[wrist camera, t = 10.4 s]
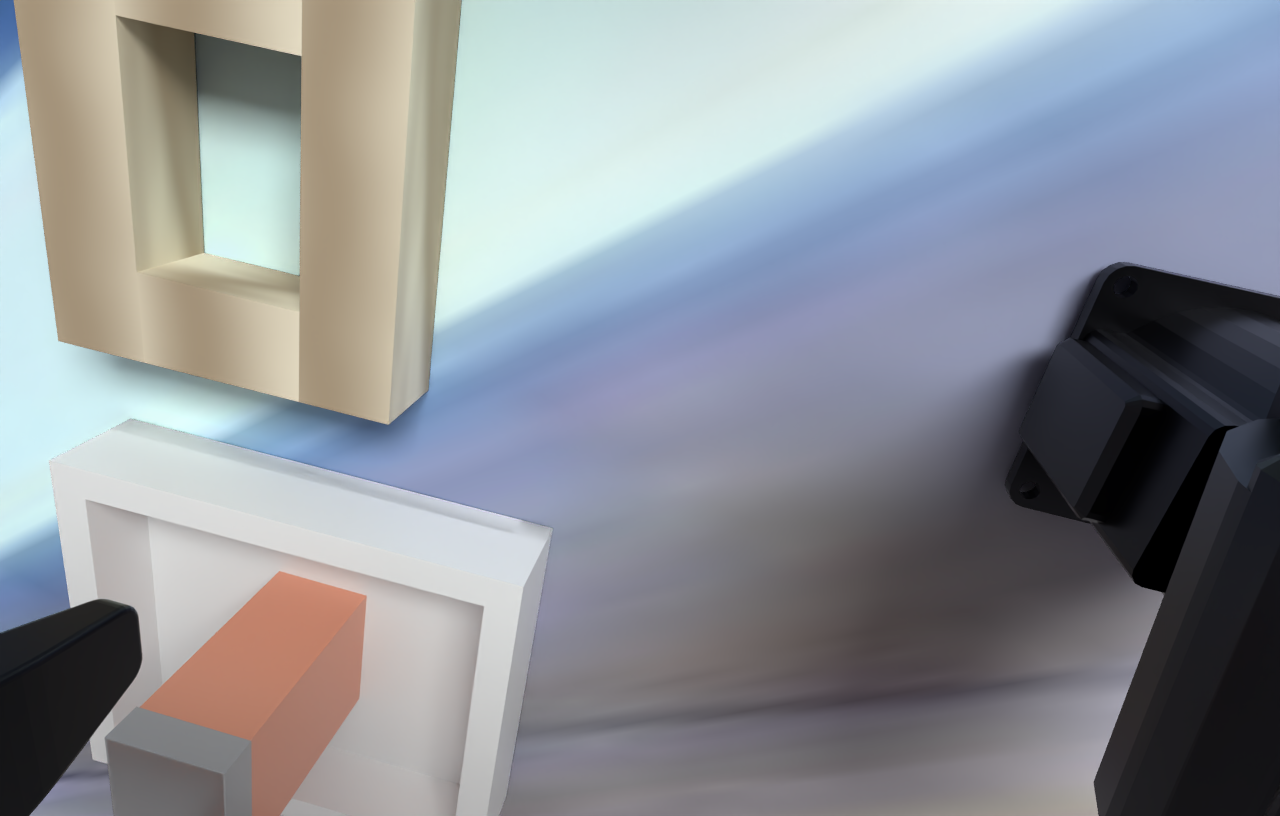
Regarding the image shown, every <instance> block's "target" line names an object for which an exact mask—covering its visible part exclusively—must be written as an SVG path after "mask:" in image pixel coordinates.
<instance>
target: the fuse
mask: <svg viewBox="0 0 1280 816" xmlns="http://www.w3.org/2000/svg"><path fill="white" fill-rule="evenodd" d="M366 600H367V596H366V595H363V594H359V593H355V592H352V591H348V590H345V589H341V588H338V587H334V586H331V585H327V584H324V583H320V582H317V581H313V580H310V579H306V578H302V577H299V576H295V575H292V574H288V573H285V572H281V571H279V572H278V573H277V574H276V575H275V576H274V577H273V578H272V579H271V580H270V581H269V582H268V583H267V584H266V585H265V586H263V587H262V588H261V589H260V590H259V591H258V592H257V593H256V594H255V595H254V596H253V597H252V598H251V599H250V600H249V601H248V602H247V603H246V604H245V605H244V606H243V607H242V608H241V609H240V610H239V611H238V612H237V613H236V614H235V615H234V616H233V617H232V618H231V619H230V620H229V621H228V622H227V623H226V624H225V625H223V626H222V627H221V628H220V629H219V630H218V631H217V632H216V633H215V634H214V635H213V636H212V637H211V638H210V639H209V640H208V641H207V642H206V643H205V644H204V645H203V646H202V647H201V648H200V649H199V650H198V651H197V652H196V653H195V654H194V655H193V656H192V657H191V658H190V659H189V660H188V661H187V662H186V663H185V664H183V665H182V666H181V667H180V668H179V669H178V670H177V671H176V672H175V673H174V674H173V675H172V676H171V677H170V678H169V679H168V680H167V681H166V682H165V683H164V684H163V685H162V686H161V687H160V688H159V689H158V690H157V691H156V692H155V693H154V694H153V695H152V696H151V697H150V698H149V699H148V700H147V701H146V702H144V703H143V704H142V705H141V706H140V707H135V708H134V709H133V710H132V711H131V712H130V713H129V714H128V715H127V716H126V717H125V718H124V719H123V720H122V721H121V722H120V723H119V724H118V725H117V726H116V727H115V728H114V729H113V730H112V731H111V732H110V733H109V734H107V735H106V736H105V737H104V738H105V746H106V755H107V763H108V772H109V780H110V788H111V797H112V805H113V814H114V816H280V814H281V813H282V812H283V810H284V809H285V807H286V806H287V804H288V803H289V801H290V800H291V798H292V797H293V795H294V794H295V792H296V791H297V789H298V788H299V786H300V785H301V784H302V782H303V781H304V779H305V778H306V776H307V775H308V773H309V772H310V770H311V769H312V767H313V766H314V764H315V763H316V761H317V760H318V759H319V757H320V756H321V754H322V753H323V751H324V750H325V748H326V747H327V745H328V744H329V742H330V741H331V739H332V738H333V736H334V735H335V734H336V732H337V731H338V729H339V728H340V726H341V725H342V723H343V722H344V720H345V719H346V717H347V716H348V714H349V713H350V711H351V710H352V708H353V707H354V706H355V704H356V703H357V701H358V700H359V696H360V683H361V669H362V655H363V641H364V627H365V613H366Z"/></svg>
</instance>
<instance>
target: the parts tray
mask: <svg viewBox="0 0 1280 816" xmlns="http://www.w3.org/2000/svg"><path fill="white" fill-rule="evenodd" d="M49 465H50V472H51V479H52V485H53V492H54V499H55V506H56V513H57V519H58V526H59V533H60V540H61V547H62V553H63V560H64V567H65V574H66V581H67V588H68V594H69V601H70V608H72V607H75V606H78V605H81V604H83V603H86V602H89V601H92V600H96V599H108V600H112V601H116V602H119V603H123V604H127V605H130V606H132V607H134V608H135V610H136V611H137V613H138V616H139V625H140V635H141V645H142V664H141V667H140V670H139V672H138V674H137V676H136V678H135V679H134V681H133V682H132V684H131V685H130V686H129V688H128V689H127V690H126V692H125V693H124V694H123V696H122V697H121V698H120V699H119V701H118V702H117V703H116V705H115V706H114V707H113V709H112V710H111V711H110V713H109V714H108V715H107V717H106V718H105V719H104V721H103V722H102V723H101V725H100V726H99V727H98V729H97V730H96V731H95V733H94V734H93V735H92V737H91V738H90V744H91V751H92V758H93V760H96V761H99V762H103V763H106V764H108V763H107V755H106V746H105V738H104V737H105V736H106V735H107V734H109V733H110V732H111V731H112V730H113V729H114V728H115V727H116V726H117V725H118V724H119V723H120V722H121V721H122V720H123V719H124V718H125V717H126V716H127V715H128V714H129V713H130V712H131V711H132V710H133V709H134V708H135V707H140V706H141V705H142V704H143V703H144V702H146V701H147V700H148V699H149V698H150V697H151V696H152V695H153V694H154V693H155V692H156V691H157V690H158V689H159V688H160V687H161V686H162V685H163V684H164V683H165V682H166V681H167V680H168V679H169V678H170V677H171V676H172V675H173V674H174V673H175V672H176V671H177V670H178V669H179V668H180V667H181V666H182V665H183V664H185V663H186V662H187V661H188V660H189V659H190V658H191V657H192V656H193V655H194V654H195V653H196V652H197V651H198V650H199V649H200V648H201V647H202V646H203V645H204V644H205V643H206V642H207V641H208V640H209V639H210V638H211V637H212V636H213V635H214V634H215V633H216V632H217V631H218V630H219V629H220V628H221V627H222V626H223V625H225V624H226V623H227V622H228V621H229V620H230V619H231V618H232V617H233V616H234V615H235V614H236V613H237V612H238V611H239V610H240V609H241V608H242V607H243V606H244V605H245V604H246V603H247V602H248V601H249V600H250V599H251V598H252V597H253V596H254V595H255V594H256V593H257V592H258V591H259V590H260V589H261V588H262V587H263V586H265V585H266V584H267V583H268V582H269V581H270V580H271V579H272V578H273V577H274V576H275V575H276V574H277V573H278V572H279V571H281V572H285V573H288V574H292V575H295V576H299V577H302V578H306V579H310V580H313V581H317V582H320V583H324V584H327V585H331V586H334V587H338V588H341V589H345V590H348V591H352V592H355V593H359V594H363V595H366V596H367V600H366V613H365V627H364V641H363V655H362V669H361V683H360V696H359V700H358V701H357V703H356V704H355V706H354V707H353V708H352V710H351V711H350V713H349V714H348V716H347V717H346V719H345V720H344V722H343V723H342V725H341V726H340V728H339V729H338V731H337V732H336V734H335V735H334V736H333V738H332V739H331V741H330V742H329V744H328V745H327V747H326V748H325V750H324V751H323V753H322V754H321V756H320V757H319V759H318V760H317V761H316V763H315V764H314V766H313V767H312V769H311V770H310V772H309V773H308V775H307V776H306V778H305V779H304V781H303V782H302V784H301V785H300V786H299V788H298V789H297V791H296V792H295V794H294V795H293V797H292V798H291V800H290V801H289V803H288V804H287V806H286V807H285V809H284V810H283V812H282V813H281V814H280V815H283V816H499V815H500V812H501V809H502V807H503V804H504V801H505V799H506V795H507V789H508V784H509V778H510V772H511V766H512V761H513V755H514V749H515V743H516V738H517V732H518V726H519V720H520V715H521V709H522V703H523V697H524V692H525V686H526V680H527V674H528V668H529V663H530V657H531V651H532V645H533V640H534V634H535V628H536V622H537V617H538V611H539V605H540V599H541V594H542V588H543V582H544V576H545V571H546V565H547V559H548V553H549V548H550V542H551V536H552V530H553V528H550V527H546V526H542V525H538V524H534V523H530V522H527V521H523V520H519V519H515V518H511V517H507V516H504V515H500V514H496V513H492V512H488V511H484V510H480V509H477V508H473V507H469V506H465V505H461V504H457V503H454V502H450V501H446V500H442V499H438V498H434V497H430V496H427V495H423V494H419V493H415V492H411V491H407V490H403V489H400V488H396V487H392V486H388V485H384V484H380V483H376V482H373V481H369V480H365V479H361V478H357V477H353V476H350V475H346V474H342V473H338V472H334V471H330V470H326V469H323V468H319V467H315V466H311V465H307V464H303V463H299V462H296V461H292V460H288V459H284V458H280V457H276V456H273V455H269V454H265V453H261V452H257V451H253V450H249V449H246V448H242V447H238V446H234V445H230V444H226V443H222V442H219V441H215V440H211V439H207V438H203V437H199V436H196V435H192V434H188V433H184V432H180V431H176V430H172V429H169V428H165V427H161V426H157V425H153V424H149V423H145V422H142V421H138V420H134V419H129V420H127V421H125V422H123V423H121V424H119V425H117V426H115V427H113V428H111V429H109V430H108V431H106V432H104V433H102V434H100V435H98V436H96V437H94V438H92V439H90V440H88V441H86V442H84V443H82V444H80V445H78V446H76V447H74V448H72V449H70V450H68V451H66V452H65V453H63V454H61V455H59V456H57V457H55V458H53V459H51V460H49Z"/></svg>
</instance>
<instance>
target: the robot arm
mask: <svg viewBox="0 0 1280 816" xmlns="http://www.w3.org/2000/svg"><path fill="white" fill-rule="evenodd" d="M1126 276H1129V277H1130V279H1131V282H1130V286H1129V287H1128V289H1127V290H1126V291H1124V292H1122V293H1120V294H1115V293H1114V291H1113V290H1114V285H1115V283H1116V282H1117V281H1118V280H1119V279H1121V278H1123V277H1126ZM1019 434H1020V436H1021V438H1022V439H1023V443H1022V445H1021V447H1020V450H1019V452H1018V454H1017V456H1016V458H1015V461H1014V463H1013V465H1012V467H1011V469H1010V472H1009V474H1008V476H1007V478H1006V483H1005V487H1006V491H1007V493H1008V494H1009V496H1010V498H1011V499H1012V500H1013V501H1014V503H1015V504H1017V505H1019V506H1022V507H1025V508H1029V509H1033V510H1037V511H1041V512H1045V513H1050V514H1054V515H1058V516H1062V517H1066V518H1070V519H1074V520H1078V521H1082V522H1086V523H1090V524H1092V526H1093V527H1094V528H1095V530H1096V531H1097V532H1098V534H1099V535H1100V536H1101V538H1102V539H1103V541H1104V542H1105V543H1106V545H1107V546H1108V547H1109V549H1110V550H1111V551H1112V553H1113V554H1114V555H1115V557H1116V558H1117V560H1118V561H1119V562H1120V564H1121V565H1122V566H1123V568H1124V569H1125V570H1126V572H1127V573H1128V575H1129V576H1130V577H1131V579H1132V580H1133V581H1134V583H1135V584H1137V585H1139V586H1141V587H1144V588H1148V589H1152V590H1156V591H1160V592H1162V593H1163V595H1164V598H1163V600H1162V603H1161V606H1160V608H1159V611H1158V613H1157V616H1156V619H1155V621H1154V624H1153V627H1152V629H1151V632H1150V635H1149V637H1148V640H1147V642H1146V645H1145V648H1144V650H1143V653H1142V656H1141V658H1140V661H1139V664H1138V666H1137V669H1136V672H1135V674H1134V677H1133V679H1132V682H1131V685H1130V687H1129V690H1128V693H1127V695H1126V698H1125V701H1124V703H1123V706H1122V708H1121V711H1120V714H1119V716H1118V719H1117V722H1116V724H1115V727H1114V730H1113V732H1112V735H1111V738H1110V740H1109V743H1108V745H1107V748H1106V751H1105V753H1104V756H1103V759H1102V761H1101V764H1100V767H1099V769H1098V772H1097V774H1096V777H1095V780H1094V788H1095V795H1096V801H1097V808H1098V815H1099V816H1280V296H1277V295H1272V294H1268V293H1263V292H1259V291H1254V290H1250V289H1245V288H1241V287H1236V286H1232V285H1227V284H1223V283H1218V282H1214V281H1209V280H1205V279H1200V278H1196V277H1191V276H1187V275H1182V274H1178V273H1173V272H1169V271H1164V270H1160V269H1155V268H1151V267H1146V266H1142V265H1137V264H1133V263H1127V262H1118V263H1115V264H1112V265H1110V266H1108V267H1107V268H1106V269H1104V270H1103V271H1102V272H1101V274H1100V275H1099V276H1098V278H1097V280H1096V282H1095V284H1094V286H1093V289H1092V291H1091V293H1090V295H1089V297H1088V300H1087V302H1086V304H1085V306H1084V308H1083V311H1082V313H1081V315H1080V317H1079V319H1078V322H1077V324H1076V326H1075V328H1074V330H1073V333H1072V335H1071V337H1070V338H1068V339H1066V340H1064V341H1063V342H1061V343H1059V344H1058V345H1057V347H1056V349H1055V351H1054V353H1053V355H1052V358H1051V360H1050V362H1049V364H1048V367H1047V369H1046V371H1045V373H1044V376H1043V378H1042V380H1041V382H1040V385H1039V387H1038V389H1037V391H1036V393H1035V396H1034V398H1033V400H1032V402H1031V405H1030V407H1029V409H1028V411H1027V414H1026V416H1025V418H1024V420H1023V423H1022V425H1021V427H1020V430H1019ZM1027 482H1035V483H1036V484H1035V487H1034V488H1033V489H1032V490H1030V491H1027V492H1021V491H1020V487H1021V486H1022V485H1023V484H1025V483H1027ZM141 664H142V645H141V635H140V625H139V616H138V613H137V611H136V610H135V608H134V607H132V606H130V605H127V604H123V603H119V602H116V601H112V600H108V599H96V600H92V601H89V602H86V603H83V604H81V605H78V606H75V607H72V608H69V609H66V610H64V611H61V612H58V613H55V614H52V615H49V616H47V617H44V618H41V619H38V620H35V621H32V622H30V623H27V624H24V625H21V626H18V627H15V628H12V629H10V630H7V631H4V632H1V633H0V816H29V815H30V814H31V813H32V812H33V811H34V810H35V808H36V807H37V806H38V805H39V804H40V803H41V801H42V800H43V799H44V798H45V797H46V795H47V794H48V793H49V792H50V790H51V789H52V788H53V787H54V785H55V784H56V783H57V782H58V780H59V779H60V778H61V777H62V775H63V774H64V773H65V771H66V770H67V769H68V767H69V766H70V765H71V763H72V762H73V761H74V759H75V758H76V757H77V755H78V754H79V753H80V751H81V750H82V749H83V747H84V746H85V745H86V743H87V742H88V741H89V739H90V738H91V737H92V735H93V734H94V733H95V731H96V730H97V729H98V727H99V726H100V725H101V723H102V722H103V721H104V719H105V718H106V717H107V715H108V714H109V713H110V711H111V710H112V709H113V707H114V706H115V705H116V703H117V702H118V701H119V699H120V698H121V697H122V696H123V694H124V693H125V692H126V690H127V689H128V688H129V686H130V685H131V684H132V682H133V681H134V679H135V678H136V676H137V674H138V672H139V670H140V667H141Z"/></svg>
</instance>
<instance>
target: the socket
mask: <svg viewBox="0 0 1280 816" xmlns="http://www.w3.org/2000/svg"><path fill="white" fill-rule="evenodd" d="M14 6H15V13H16V21H17V28H18V36H19V44H20V51H21V59H22V67H23V74H24V82H25V90H26V97H27V105H28V112H29V120H30V128H31V135H32V143H33V151H34V158H35V166H36V173H37V181H38V189H39V196H40V204H41V212H42V219H43V227H44V234H45V242H46V250H47V257H48V265H49V273H50V280H51V288H52V296H53V303H54V311H55V318H56V326H57V334H58V341H61V342H65V343H69V344H73V345H76V346H80V347H84V348H88V349H92V350H96V351H100V352H104V353H108V354H112V355H116V356H120V357H124V358H128V359H132V360H136V361H139V362H143V363H147V364H151V365H155V366H159V367H163V368H167V369H171V370H175V371H179V372H183V373H187V374H191V375H195V376H199V377H203V378H206V379H210V380H214V381H218V382H222V383H226V384H230V385H234V386H238V387H242V388H246V389H250V390H254V391H258V392H262V393H266V394H270V395H273V396H277V397H281V398H285V399H289V400H293V401H297V402H301V403H305V404H309V405H313V406H317V407H321V408H325V409H329V410H333V411H336V412H340V413H344V414H348V415H352V416H356V417H360V418H364V419H368V420H372V421H376V422H380V423H384V424H388V425H389V424H390V423H391V422H392V421H393V420H395V419H396V418H397V417H398V416H399V415H400V414H402V413H403V412H404V411H405V410H406V409H407V408H408V407H410V406H411V405H412V404H413V403H414V402H415V401H416V400H418V399H419V398H420V397H421V396H422V395H423V394H424V393H426V392H427V391H428V388H429V376H430V364H431V352H432V341H433V329H434V317H435V305H436V294H437V282H438V270H439V258H440V247H441V235H442V223H443V212H444V200H445V188H446V176H447V165H448V153H449V141H450V129H451V118H452V106H453V94H454V82H455V71H456V59H457V47H458V36H459V24H460V12H461V0H14ZM194 33H198V34H203V35H208V36H212V37H217V38H221V39H226V40H230V41H235V42H239V43H244V44H248V45H253V46H258V47H262V48H267V49H271V50H276V51H280V52H285V53H289V54H294V55H298V56H302V58H301V181H300V276H297V275H293V274H289V273H285V272H281V271H277V270H273V269H268V268H264V267H260V266H256V265H252V264H248V263H244V262H239V261H235V260H231V259H227V258H223V257H219V256H215V255H210V254H206V253H204V241H203V219H202V196H201V174H200V151H199V129H198V107H197V84H196V62H195V39H194Z"/></svg>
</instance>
